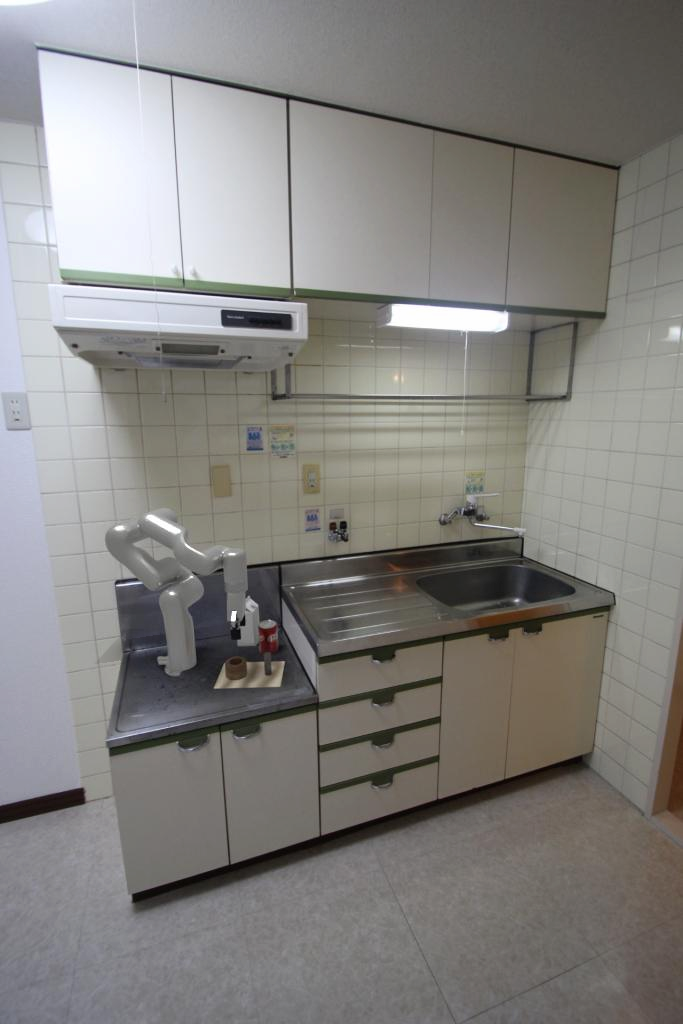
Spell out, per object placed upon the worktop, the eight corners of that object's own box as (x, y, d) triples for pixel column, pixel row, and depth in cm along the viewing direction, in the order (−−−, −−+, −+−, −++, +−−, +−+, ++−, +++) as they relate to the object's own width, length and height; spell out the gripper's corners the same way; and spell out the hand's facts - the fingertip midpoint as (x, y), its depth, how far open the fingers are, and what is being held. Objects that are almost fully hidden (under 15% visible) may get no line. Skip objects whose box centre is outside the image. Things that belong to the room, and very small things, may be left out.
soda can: (280, 648, 182) (279, 620, 180) (276, 658, 175) (274, 628, 173) (262, 647, 183) (260, 619, 180) (257, 657, 176) (255, 628, 173)
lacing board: (213, 692, 154) (211, 668, 152) (224, 666, 170) (222, 643, 168) (280, 690, 155) (279, 666, 153) (285, 664, 170) (284, 642, 168)
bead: (224, 680, 159) (223, 667, 158) (228, 669, 165) (227, 656, 164) (244, 679, 159) (243, 666, 158) (248, 668, 165) (247, 656, 164)
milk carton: (237, 647, 184) (234, 602, 180) (244, 638, 191) (241, 594, 187) (254, 648, 183) (251, 603, 179) (260, 639, 190) (258, 595, 185)
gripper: (229, 576, 164) (232, 621, 168) (219, 595, 147) (222, 645, 151) (251, 576, 164) (253, 620, 168) (243, 595, 147) (245, 644, 151)
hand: (238, 632), depth 159 cm, fingers open, 9 cm apart
